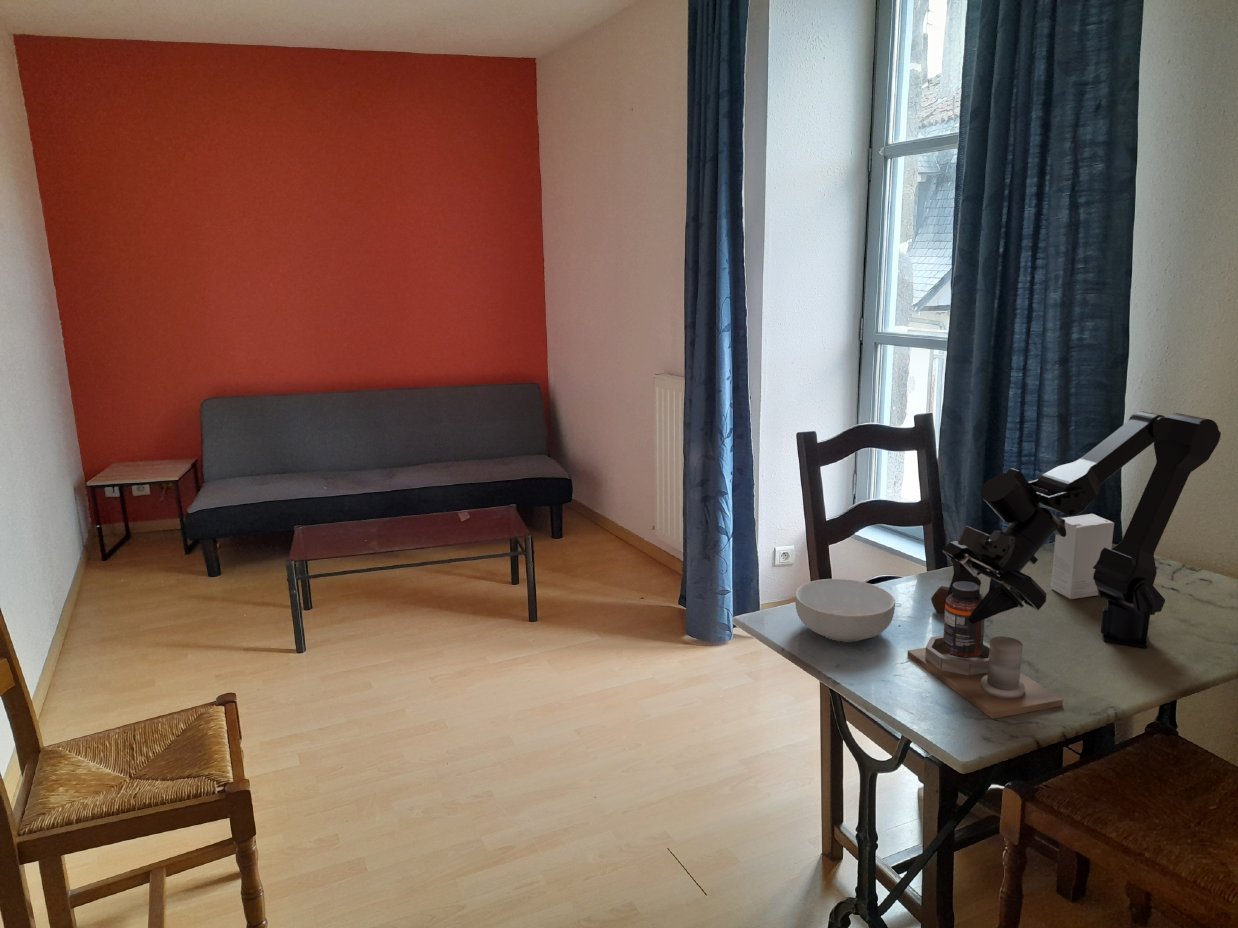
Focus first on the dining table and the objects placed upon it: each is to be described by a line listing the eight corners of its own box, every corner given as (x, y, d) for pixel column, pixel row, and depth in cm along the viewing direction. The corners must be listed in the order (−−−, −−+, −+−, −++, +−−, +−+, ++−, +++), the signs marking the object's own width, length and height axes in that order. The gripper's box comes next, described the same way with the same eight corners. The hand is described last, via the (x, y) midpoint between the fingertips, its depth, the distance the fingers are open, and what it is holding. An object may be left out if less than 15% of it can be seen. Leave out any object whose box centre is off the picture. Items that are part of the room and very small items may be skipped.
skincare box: (1085, 584, 173) (1093, 512, 169) (1108, 595, 167) (1116, 521, 164) (1048, 589, 171) (1055, 516, 168) (1070, 600, 165) (1077, 525, 162)
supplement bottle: (974, 642, 143) (979, 578, 140) (988, 659, 137) (993, 592, 135) (937, 643, 144) (941, 578, 141) (949, 660, 138) (953, 592, 135)
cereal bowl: (832, 662, 143) (834, 621, 142) (775, 624, 158) (776, 587, 157) (914, 641, 150) (916, 603, 148) (852, 607, 165) (853, 572, 163)
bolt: (975, 600, 172) (948, 623, 160) (954, 583, 174) (925, 604, 163) (993, 578, 169) (966, 600, 157) (971, 561, 171) (943, 582, 160)
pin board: (907, 655, 145) (910, 608, 143) (969, 645, 148) (973, 599, 146) (992, 718, 125) (996, 664, 123) (1062, 705, 128) (1067, 652, 126)
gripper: (955, 493, 145) (893, 565, 145) (1036, 526, 127) (966, 607, 127) (993, 533, 149) (933, 603, 148) (1076, 570, 131) (1008, 649, 131)
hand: (957, 614), depth 139 cm, fingers closed on supplement bottle, 6 cm apart
